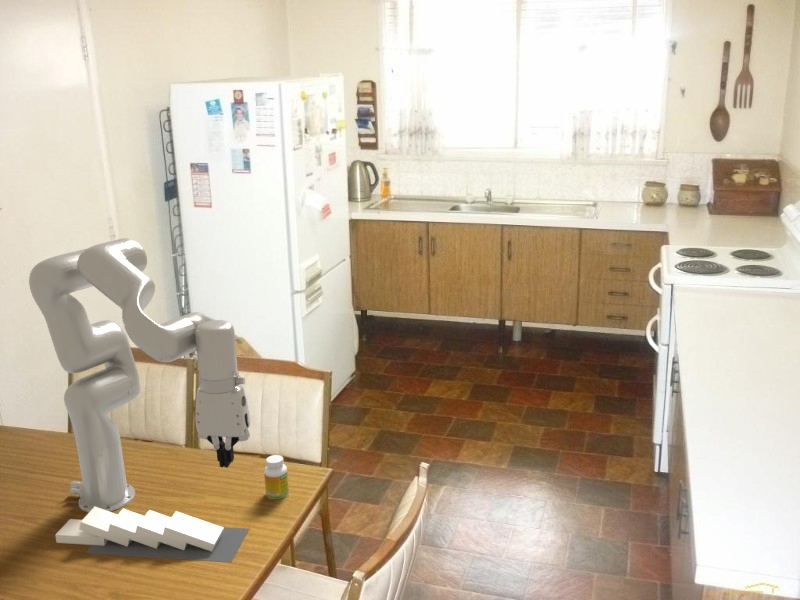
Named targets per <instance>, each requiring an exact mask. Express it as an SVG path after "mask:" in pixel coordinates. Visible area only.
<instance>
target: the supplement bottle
mask: <svg viewBox="0 0 800 600" xmlns="http://www.w3.org/2000/svg"><path fill="white" fill-rule="evenodd" d="M265 462H266V466H265V468H264V469H263V473H264V474H263V475H264V486H265V495H266V497H267V498H269V499H271V500H280V499H283V498H286V497H288V496H289V493H290V490H289V488H290V487H289V478H288V467H287V466H286V464H284V457H283V456H282V455H279V454H274V455H272V454H271V455H270V456H268V457H266V459H265Z"/></svg>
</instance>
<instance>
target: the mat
mask: <svg viewBox="0 0 800 600" xmlns="http://www.w3.org/2000/svg"><path fill="white" fill-rule="evenodd" d="M222 527H223V528H224V529H223V532H222V535H221V537H220V539H219V540H218V542H217V544H216V546H215V547H214V549H213V551H212V552H211V551H208V550H206V549H203V548H200V547H197V546H194V545H191V544H188V545H187V547H186V548H185V550H181V549H178V548H176V547H173V546H170V545H167V544H164V543H162V542H161V543H160V545H159V546H158V548H157V549H156V548H153V547H150V546H147V545H145V544H142V543H139V542H136V541H133V540H132V541H131V543H130V544H129V545H128V547H127V546H124V545H121V544H118V543H116V542H113V541H110V540H109V541H108V542H107V543H106V545H105V546H103V545H90V547H89V548H88V549H87V551H85V554H87V555H88V554H89V555H105V556H107V555H108V556H121V557H123V556H124V557H136V558H137V557H138V558H154V559H168V560H169V559H171V560H185V561H186V560H187V561H202V562H219V563H221V562H222V563H232V562H233V560H234V559H235V556H236V554H237V553H238V551H239V549H240V547H241V546H242V544H243V541H244V539H246V537H247V535H248V533H249V531H250V528H249V527H248V528H246V527H244V528H243V527H230V526H229V527H225V526H222Z"/></svg>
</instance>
